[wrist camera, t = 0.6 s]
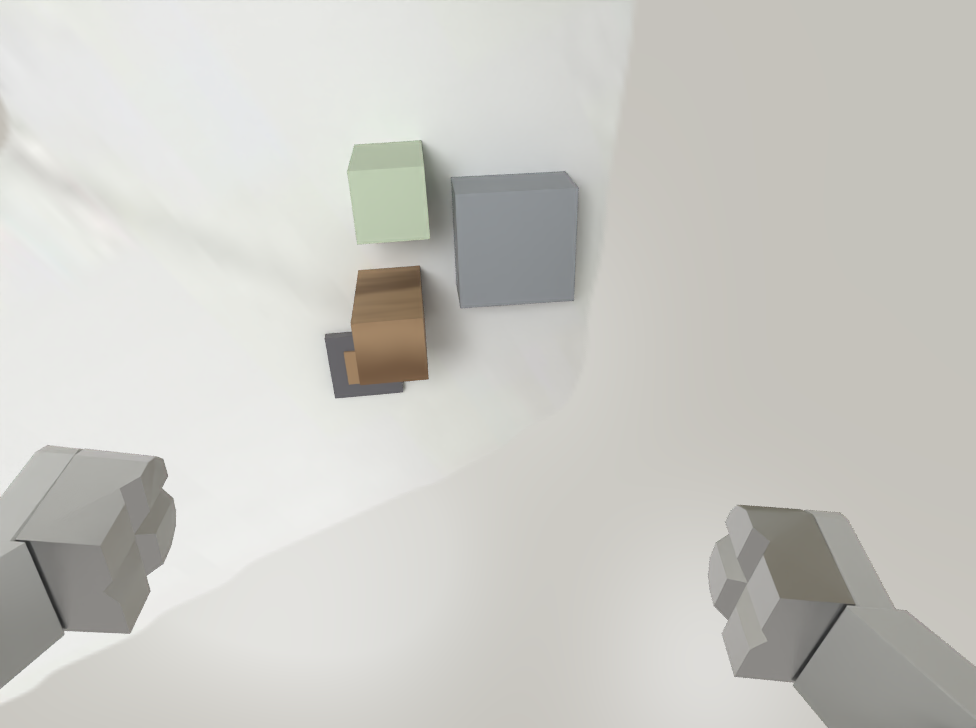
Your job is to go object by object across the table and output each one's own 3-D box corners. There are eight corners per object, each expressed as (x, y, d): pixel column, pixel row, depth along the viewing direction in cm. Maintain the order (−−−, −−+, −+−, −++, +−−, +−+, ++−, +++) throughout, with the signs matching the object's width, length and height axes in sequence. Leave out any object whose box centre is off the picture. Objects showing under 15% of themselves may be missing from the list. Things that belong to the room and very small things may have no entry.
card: (325, 334, 60) (324, 339, 59) (396, 328, 60) (396, 333, 59) (336, 393, 63) (335, 399, 62) (403, 387, 63) (403, 393, 62)
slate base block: (450, 176, 55) (455, 194, 50) (564, 170, 55) (578, 187, 51) (456, 283, 59) (460, 308, 55) (561, 276, 60) (573, 300, 56)
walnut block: (358, 270, 57) (350, 324, 49) (419, 265, 58) (422, 318, 49) (366, 325, 60) (360, 385, 51) (424, 320, 60) (428, 379, 52)
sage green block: (354, 144, 53) (347, 171, 46) (421, 140, 53) (424, 166, 46) (362, 209, 55) (357, 244, 48) (426, 205, 55) (430, 239, 48)
